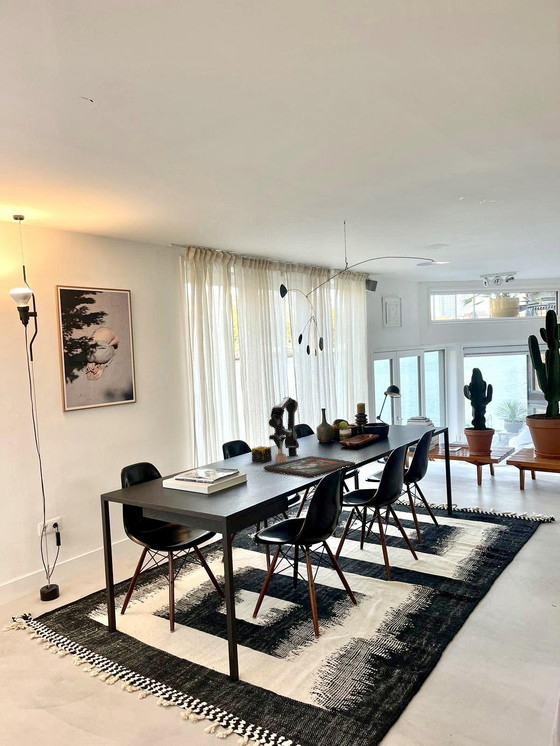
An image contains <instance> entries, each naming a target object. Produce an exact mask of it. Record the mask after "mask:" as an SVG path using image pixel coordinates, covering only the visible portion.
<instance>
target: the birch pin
mask: <svg viewBox="0 0 560 746" xmlns="http://www.w3.org/2000/svg"><path fill="white" fill-rule="evenodd" d="M277 454H278V455H283V454H284V453H283V446H282V442H280V449H278V448H277Z"/></svg>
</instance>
